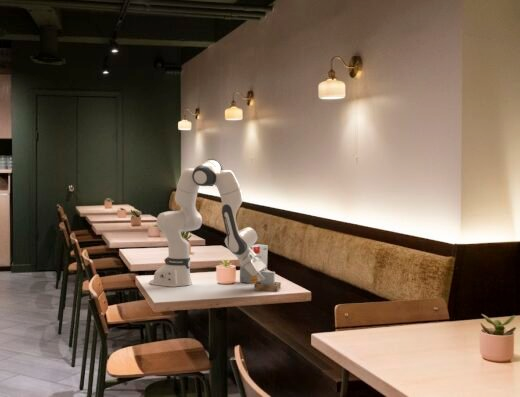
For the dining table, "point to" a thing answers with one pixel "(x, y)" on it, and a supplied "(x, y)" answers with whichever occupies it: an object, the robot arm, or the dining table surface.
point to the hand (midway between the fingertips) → (266, 278)
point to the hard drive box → (262, 255)
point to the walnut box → (267, 286)
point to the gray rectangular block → (268, 278)
